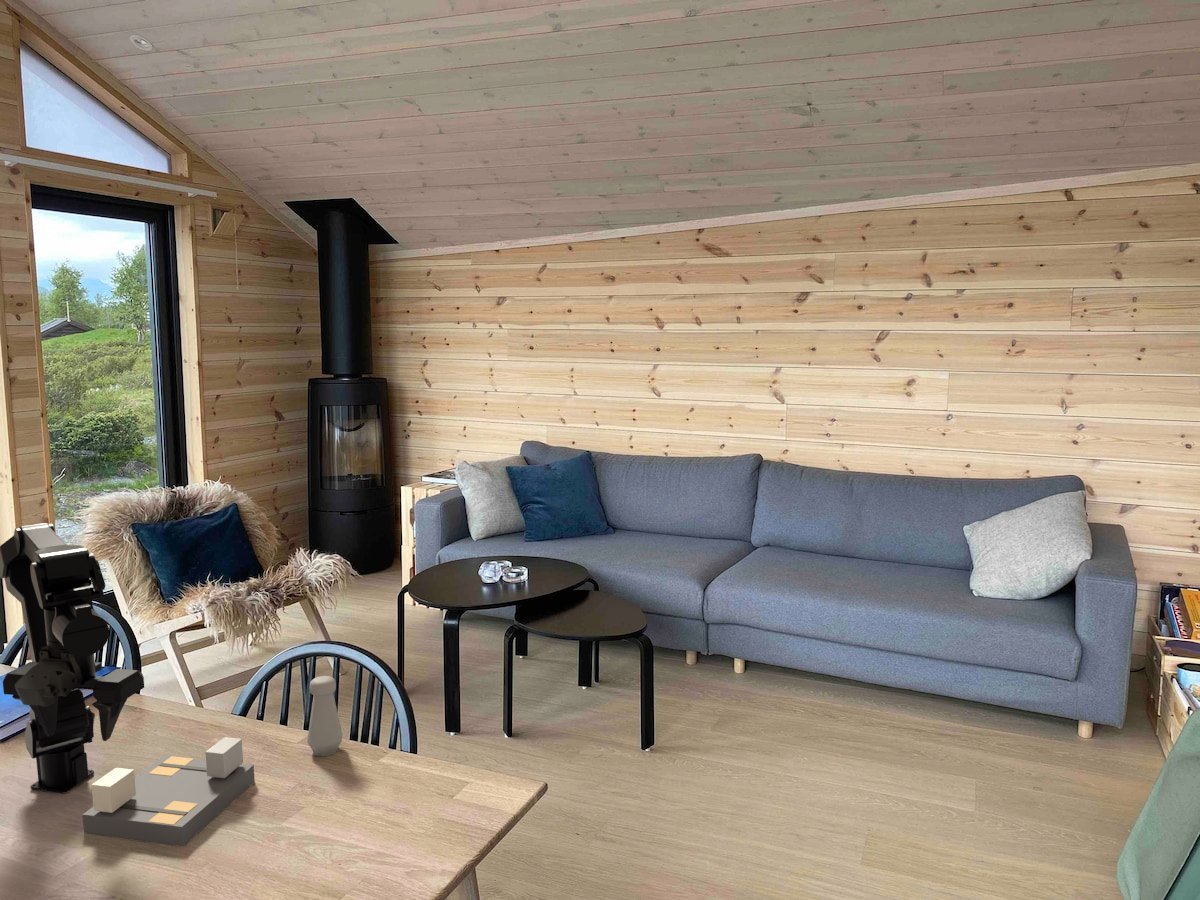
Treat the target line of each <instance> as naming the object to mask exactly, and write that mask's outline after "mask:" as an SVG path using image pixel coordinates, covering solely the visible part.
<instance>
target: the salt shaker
mask: <svg viewBox="0 0 1200 900" xmlns="http://www.w3.org/2000/svg"><path fill="white" fill-rule="evenodd" d="M336 690H337V682H336V679H335V678H333V677H332V676H330V675H321V676H317V677H314V678H313V679H312V680H310V682H309V692H310V694H311V695H313V697H312V703H311V712H310V719H309V726H308V732H307V745H308V746H309V748H310V749H311V750H312V751H313V754H314V755H315V756H316V757H317V756H318V757H328V756H331V755H334V754H335V755H336V753H337V751H338V749H339V747H340V745H341V743H342V740H343V730H342V726H341V721H340V716H339V714H338V712H339V711H338V708H337V704H336V699H335V695H334V692H336Z"/></svg>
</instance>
